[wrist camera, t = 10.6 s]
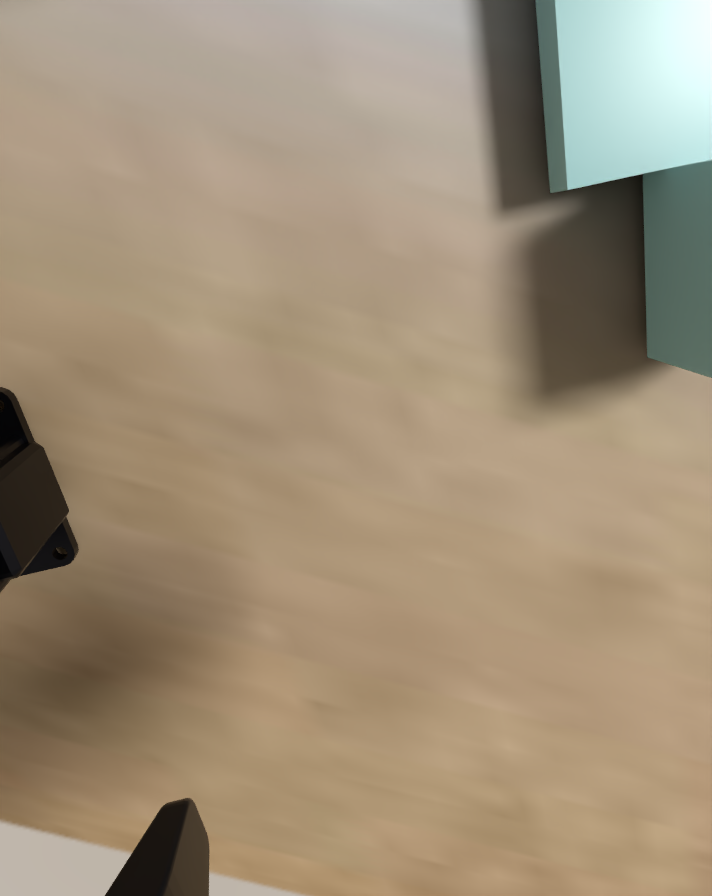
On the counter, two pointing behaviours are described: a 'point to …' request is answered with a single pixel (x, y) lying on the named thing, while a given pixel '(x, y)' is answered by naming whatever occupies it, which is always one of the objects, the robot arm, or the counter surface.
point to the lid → (641, 142)
